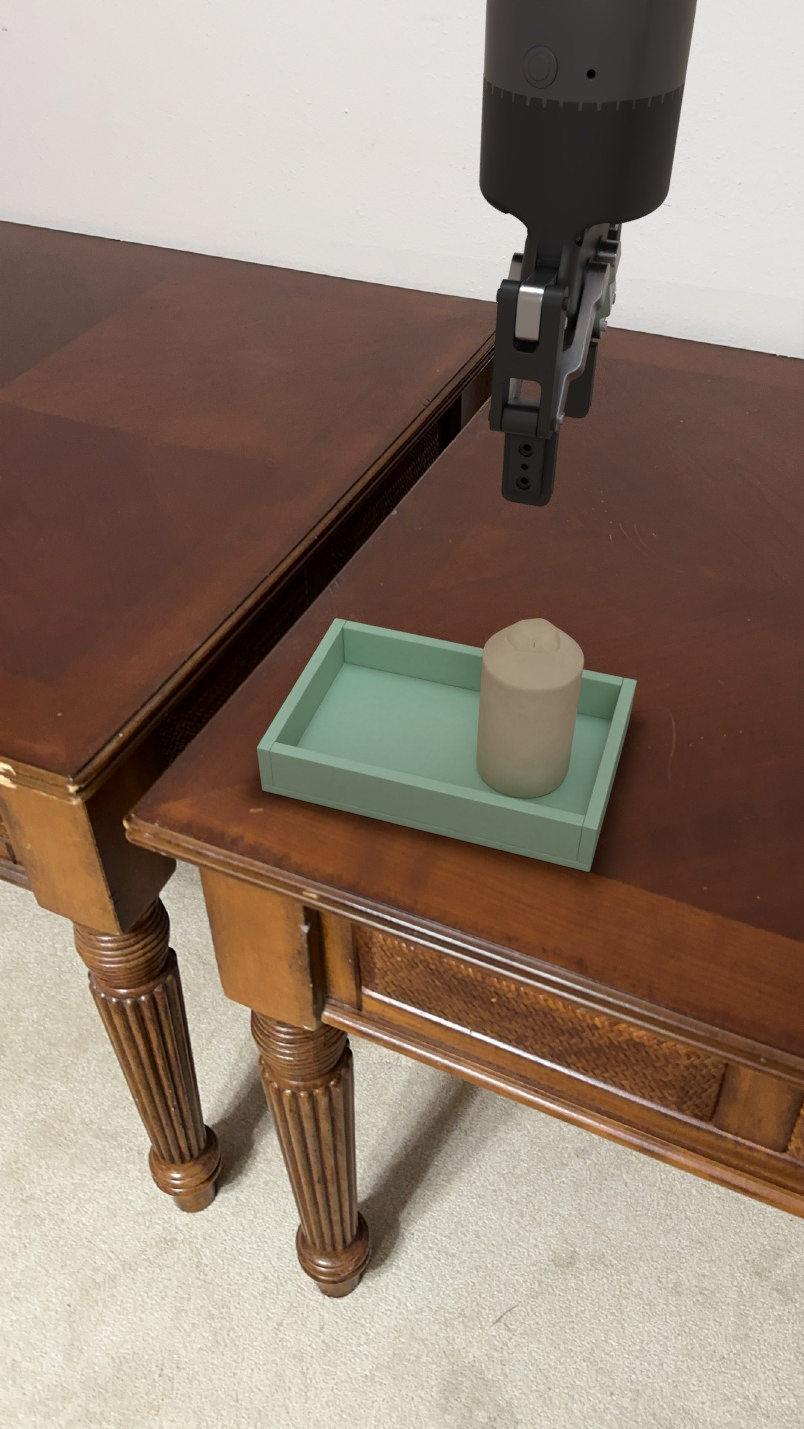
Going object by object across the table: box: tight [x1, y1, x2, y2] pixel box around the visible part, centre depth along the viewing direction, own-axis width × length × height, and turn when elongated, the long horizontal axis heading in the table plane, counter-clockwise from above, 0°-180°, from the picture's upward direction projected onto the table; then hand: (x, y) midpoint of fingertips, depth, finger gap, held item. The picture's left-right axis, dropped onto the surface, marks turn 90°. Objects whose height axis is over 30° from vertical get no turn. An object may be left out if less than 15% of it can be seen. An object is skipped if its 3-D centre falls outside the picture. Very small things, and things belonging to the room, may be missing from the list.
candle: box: [476, 617, 585, 798], centre depth 62 cm, size 6×6×10 cm
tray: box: [256, 617, 638, 873], centre depth 66 cm, size 20×13×4 cm, turn 72°
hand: (548, 454), depth 52 cm, fingers open, 8 cm apart
